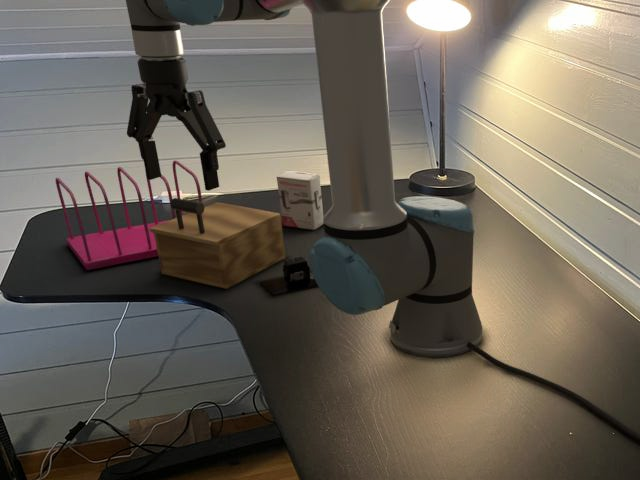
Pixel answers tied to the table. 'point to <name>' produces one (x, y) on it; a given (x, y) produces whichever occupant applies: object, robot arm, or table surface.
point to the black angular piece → (291, 278)
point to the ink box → (300, 199)
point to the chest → (222, 256)
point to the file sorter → (117, 242)
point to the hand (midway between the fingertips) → (183, 183)
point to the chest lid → (212, 221)
